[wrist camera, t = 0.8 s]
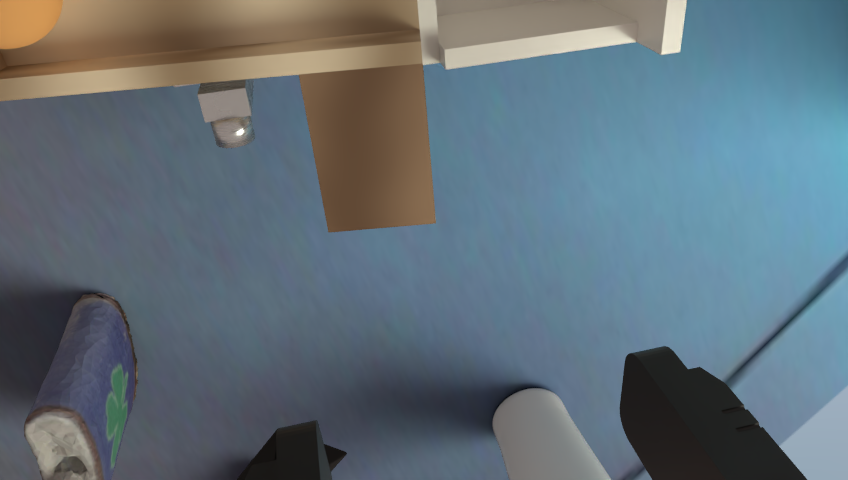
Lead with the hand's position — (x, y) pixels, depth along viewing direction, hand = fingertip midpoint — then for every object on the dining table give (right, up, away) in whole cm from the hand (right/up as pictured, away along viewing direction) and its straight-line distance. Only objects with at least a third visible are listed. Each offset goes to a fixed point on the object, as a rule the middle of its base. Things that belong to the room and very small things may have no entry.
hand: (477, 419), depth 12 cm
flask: (-19, -3, +25) cm, 31 cm away
